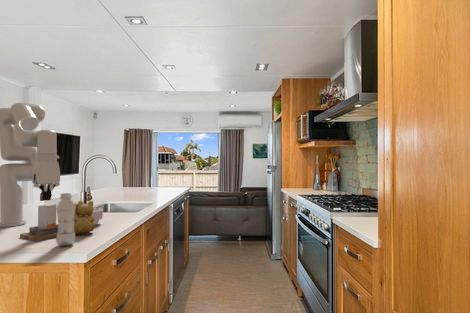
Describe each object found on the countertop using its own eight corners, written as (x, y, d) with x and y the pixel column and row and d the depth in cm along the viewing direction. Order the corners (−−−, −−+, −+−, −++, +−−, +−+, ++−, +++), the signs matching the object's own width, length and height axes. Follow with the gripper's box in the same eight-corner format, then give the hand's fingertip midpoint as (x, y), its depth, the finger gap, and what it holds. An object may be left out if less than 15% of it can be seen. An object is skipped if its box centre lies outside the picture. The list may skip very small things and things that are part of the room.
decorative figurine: (96, 231, 147) (96, 199, 147) (94, 235, 139) (94, 201, 139) (73, 233, 144) (73, 200, 144) (69, 237, 136) (69, 202, 136)
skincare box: (45, 233, 136) (45, 206, 136) (37, 233, 137) (37, 205, 137) (56, 230, 142) (56, 204, 142) (48, 230, 143) (48, 203, 143)
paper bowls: (109, 224, 164) (108, 208, 164) (81, 229, 151) (81, 212, 151) (91, 221, 172) (91, 206, 172) (63, 226, 159) (63, 210, 159)
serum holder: (20, 237, 136) (20, 228, 136) (55, 230, 149) (55, 222, 149) (37, 241, 129) (37, 231, 129) (72, 234, 142) (72, 225, 142)
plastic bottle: (60, 243, 126) (60, 193, 126) (78, 243, 126) (78, 192, 126) (52, 248, 119) (52, 194, 119) (71, 247, 120) (71, 194, 120)
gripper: (58, 158, 148) (59, 197, 147) (24, 158, 135) (24, 201, 134) (68, 158, 144) (68, 198, 143) (33, 158, 131) (33, 202, 131)
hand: (47, 200), depth 139 cm, fingers closed
